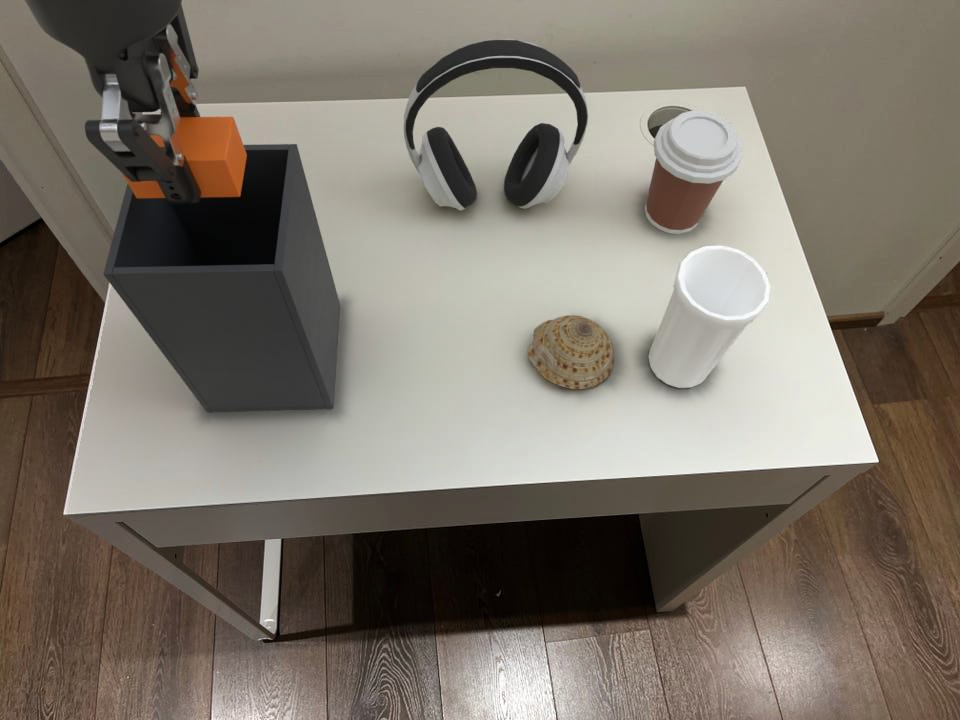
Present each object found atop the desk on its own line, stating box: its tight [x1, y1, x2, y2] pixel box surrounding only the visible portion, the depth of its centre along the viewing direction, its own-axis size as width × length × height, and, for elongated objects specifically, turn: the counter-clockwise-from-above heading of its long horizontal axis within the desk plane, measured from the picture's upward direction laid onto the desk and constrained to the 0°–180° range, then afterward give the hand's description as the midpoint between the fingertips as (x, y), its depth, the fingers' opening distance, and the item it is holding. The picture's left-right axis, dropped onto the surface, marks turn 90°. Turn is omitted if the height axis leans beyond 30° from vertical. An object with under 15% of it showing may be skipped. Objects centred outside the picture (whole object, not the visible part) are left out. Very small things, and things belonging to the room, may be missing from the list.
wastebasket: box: [103, 143, 341, 413], centre depth 61 cm, size 12×12×23 cm
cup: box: [648, 245, 772, 389], centre depth 66 cm, size 8×8×14 cm
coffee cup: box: [644, 109, 743, 235], centre depth 76 cm, size 9×9×12 cm
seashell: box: [527, 314, 615, 390], centre depth 71 cm, size 8×6×8 cm
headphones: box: [403, 38, 589, 211], centre depth 73 cm, size 19×8×20 cm, turn 95°
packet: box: [121, 116, 247, 198], centre depth 47 cm, size 7×4×4 cm, turn 93°
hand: (190, 174), depth 48 cm, fingers closed on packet, 4 cm apart
